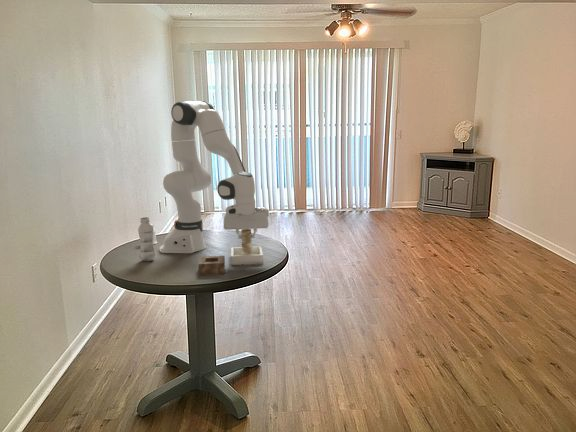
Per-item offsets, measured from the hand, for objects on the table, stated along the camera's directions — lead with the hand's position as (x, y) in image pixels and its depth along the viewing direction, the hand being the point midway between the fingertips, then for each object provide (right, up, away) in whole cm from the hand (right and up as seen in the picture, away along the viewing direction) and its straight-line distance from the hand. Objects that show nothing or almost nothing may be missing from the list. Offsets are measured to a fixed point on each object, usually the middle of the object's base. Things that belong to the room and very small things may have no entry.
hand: (246, 238), depth 216 cm
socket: (-13, -13, -13) cm, 23 cm away
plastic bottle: (-45, -11, +2) cm, 46 cm away
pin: (0, -7, +2) cm, 7 cm away
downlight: (-52, -4, +30) cm, 61 cm away
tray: (0, -10, +2) cm, 10 cm away
